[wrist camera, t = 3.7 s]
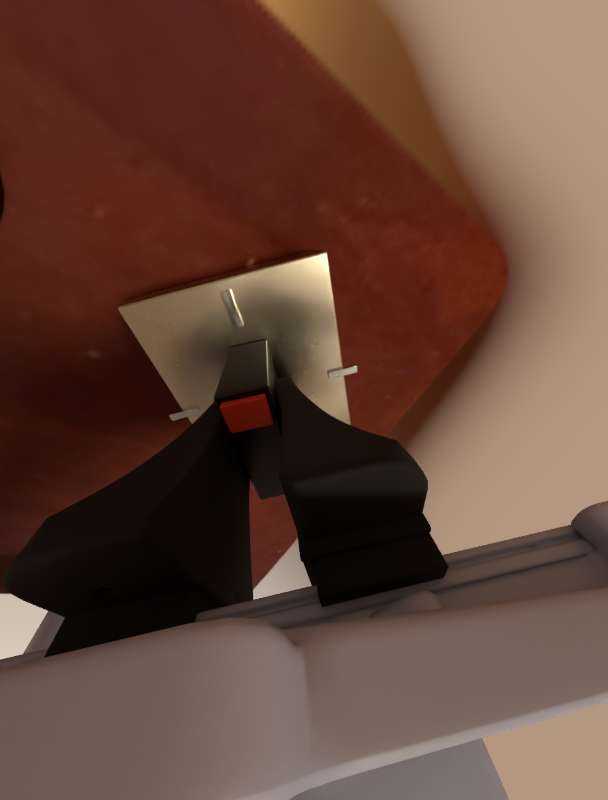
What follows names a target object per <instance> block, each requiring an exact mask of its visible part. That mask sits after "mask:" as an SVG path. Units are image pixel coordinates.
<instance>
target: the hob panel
mask: <svg viewBox="0 0 608 800" xmlns="http://www.w3.org/2000/svg"><path fill="white" fill-rule="evenodd" d="M117 309H118V311H119V312H120V314H121V315H122V317H123V319H124V320H125V322H126V323H127V325H128V326H129V328H130V329H131V331H132V332H133V334H134V336H135V337H136V339H137V340H138V342H139V343H140V345H141V346H142V348H143V350H144V351H145V353H146V354H147V356H148V357H149V359H150V360H151V362H152V363H153V365H154V367H155V368H156V370H157V371H158V373H159V374H160V376H161V377H162V379H163V380H164V382H165V384H166V385H167V387H168V388H169V390H170V391H171V393H172V394H173V396H174V398H175V399H176V401H177V402H178V404H179V405H180V407H181V408H182V410H181V411H177V412H173V413H170V414H169V417H170V418H171V419H172V421H174V420H178V419H182V418H185V417H187V418H188V419H189V421H190V422H191V424H193V423H194V422H195V421H196V420H197V419H198V418H199V417H200V416H201V415H202V414H203V413H204V412H205V411H206V410H207V409H208V408H209V407H210V406H211V404H212V403H213V402H214V395H215V392H216V389H217V386H218V383H219V380H220V376H221V373H222V370H223V367H224V364H225V361H226V358H227V355H228V352H229V349H230V347H234V346H239V345H244V344H248V343H253V342H258V341H262V340H267V342H268V345H269V349H270V353H271V357H272V361H273V364H274V368H275V372H276V376H277V378H281V377H286V376H289V377H291V378H292V380H293V382H294V383H295V385H296V386H297V387H298V388H299V389H300V390H301V391H302V392H303V394H304V395H305V396H306V397H308V398H309V399H310V400H311V401H312V402H313V403H314V404H316V405H317V406H318V407H319V408H321V409H322V410H324V411H325V412H327V413H328V414H330V415H331V416H333V417H335V418H336V419H338V420H340V421H342V422H344V423H346V424H349V425H351V420H350V413H349V405H348V398H347V391H346V383H345V376H344V375H348V374H352V373H356V372H357V365H356V364H355V365H351V366H347V367H344V368H343V361H342V354H341V347H340V340H339V332H338V325H337V318H336V310H335V303H334V296H333V288H332V281H331V274H330V266H329V259H328V253H327V251H319V250H309V251H305V252H302V253H298V254H294V255H290V256H287V257H283V258H279V259H275V260H272V261H268V262H264V263H260V264H257V265H253V266H249V267H245V268H242V269H238V270H234V271H230V272H227V273H223V274H219V275H215V276H211V277H208V278H204V279H200V280H196V281H193V282H189V283H185V284H181V285H178V286H174V287H170V288H166V289H163V290H159V291H155V292H151V293H148V294H146V295H144V296H141V297H139V298H136V299H134V300H132V301H129V302H127V303H124V304H122V305H120V306H118V307H117Z"/></svg>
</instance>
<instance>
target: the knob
mask: <svg viewBox="0 0 608 800" xmlns="http://www.w3.org/2000/svg"><path fill="white" fill-rule="evenodd" d="M276 378H277V376H276V372H275V368H274V364H273V361H272V357H271V353H270V349H269V345H268V342H267V340H262V341H258V342H253V343H248V344H244V345H239V346H234V347H230V349H229V352H228V355H227V358H226V361H225V364H224V367H223V370H222V373H221V376H220V380H219V383H218V386H217V389H216V392H215V395H214V401H215V403H216V405H217V407H218V409H219V412H220V414H221V416H222V418H223V420H224V422H225V424H226V427H227V429H228V431H229V433H230V435H231V437H232V440H233V442H234V444H235V446H236V448H237V450H238V452H239V455H240V457H241V459H242V461H243V463H244V465H245V467H246V470H247V472H248V474H249V476H250V478H251V480H252V483H253V485H254V487H255V489H256V491H257V493H258V495H259V498H260V499H261V500H263V499H267V498H272V497H276V496H280V495H285V494H284V491H283V488H282V485H281V482H280V479H279V471H280V461H281V446H282V420H281V409H280V404H279V400H278V397H277V393H276V389H275V384H276Z"/></svg>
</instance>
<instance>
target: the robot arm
mask: <svg viewBox="0 0 608 800" xmlns="http://www.w3.org/2000/svg"><path fill="white" fill-rule="evenodd" d="M275 389H276V393H277V397H278V400H279V404H280V409H281V420H282V446H281V461H280V471H279V479H280V482H281V485H282V488H283V491H284V494H285V497H286V500H287V502H288V505H289V508H290V511H291V514H292V517H293V520H294V523H295V526H296V529H297V534H298V542H299V551H300V558H301V561H302V562H303V563H304V566H305V568H306V571H307V574H308V576H309V579H310V582H311V584H312V586H310V587H306V588H301V589H297V590H293V591H289V592H285V593H280V594H276V595H272V596H268V597H263V598H259V599H255V600H253V587H252V572H251V552H250V523H249V486H250V476H249V474H248V472H247V470H246V467H245V465H244V463H243V461H242V459H241V457H240V455H239V452H238V450H237V448H236V446H235V444H234V442H233V440H232V437H231V435H230V433H229V431H228V429H227V427H226V424H225V422H224V420H223V418H222V416H221V414H220V412H219V409H218V407H217V405H216V403H215V401H214V402H213V403H212V404H211V406H210V407H209V408H208V409H207V410H206V411H205V412H204V413H203V414H202V415H201V416H200V417H199V418H198V419H197V420H196V421H195V422H194V423H193V424H192V425H191V426H190V427H189V428H188V429H187V430H186V431H185V432H183V433H182V434H181V435H180V436H179V437H178V438H177V439H175V440H174V441H173V442H172V443H170V444H169V445H168V446H167V447H165V448H164V449H163V450H161V451H160V452H159V453H157V454H156V455H154V456H153V457H152V458H150V459H149V460H147V461H146V462H144V463H143V464H142V465H140V466H139V467H137V468H136V469H134V470H133V471H131V472H129V473H128V474H126V475H125V476H123V477H122V478H120V479H118V480H117V481H115V482H113V483H111V484H110V485H108V486H106V487H105V488H103V489H101V490H99V491H98V492H96V493H94V494H92V495H90V496H88V497H87V498H85V499H83V500H81V501H79V502H77V503H75V504H73V505H71V506H70V507H68V508H66V509H64V510H62V511H60V512H58V513H56V514H54V515H52V516H50V517H48V518H47V519H46V520H45V521H44V522H43V524H42V525H41V526H40V528H39V529H38V530H37V532H36V533H35V534H34V535H33V537H32V538H31V539H30V540H29V542H28V543H27V544H26V545H25V547H24V548H23V549H22V551H21V552H20V553H19V554H18V556H17V557H16V558H15V559H14V561H13V562H12V563H11V564H10V566H9V567H8V568H7V570H6V571H5V573H4V574H3V579H4V584H5V587H6V588H7V589H8V590H9V592H10V593H11V594H12V595H14V596H16V597H18V598H20V599H22V600H23V601H26V602H29V603H31V604H33V605H36V606H38V607H41V608H43V609H46V610H48V613H47V614H46V616H45V618H44V619H43V621H42V623H41V624H40V626H39V628H38V629H37V631H36V633H35V635H34V636H33V638H32V640H31V641H30V643H29V645H28V646H27V648H26V650H25V651H24V653H23V655H18V656H14V657H10V658H5V659H1V660H0V800H509V798H508V796H507V794H506V791H505V789H504V787H503V785H502V782H501V780H500V778H499V776H498V773H497V771H496V769H495V766H494V764H493V762H492V760H491V757H490V755H489V753H488V751H487V748H486V746H485V744H484V742H483V740H482V738H484V737H487V736H490V735H494V734H497V733H501V732H505V731H508V730H512V729H515V728H518V727H522V726H525V725H529V724H533V723H536V722H540V721H543V720H546V719H550V718H554V717H557V716H561V715H564V714H568V713H571V712H575V711H578V710H582V709H585V708H589V707H592V706H596V705H599V704H603V703H606V702H608V501H606V502H602V503H597V504H594V505H592V506H589V507H587V508H585V509H583V510H582V511H581V512H580V513H578V514H577V516H576V517H575V518H574V519H573V520H572V522H571V525H568V526H564V527H560V528H555V529H551V530H547V531H543V532H538V533H534V534H530V535H526V536H521V537H518V538H513V539H509V540H505V541H501V542H496V543H492V544H488V545H483V546H479V547H475V548H471V549H466V550H463V551H458V552H454V553H450V554H445V555H442V554H441V552H440V551H439V549H438V547H437V545H436V544H435V542H434V540H433V538H432V537H431V535H430V533H429V532H430V531H431V527H430V525H429V523H428V521H427V519H426V518H425V516H424V514H423V513H422V512H423V508H424V503H425V499H426V495H427V490H428V480H427V478H426V476H425V475H424V473H423V471H422V470H421V468H420V467H419V466H418V464H417V463H416V462H415V460H414V459H413V458H412V457H411V456H410V454H409V453H408V452H407V451H406V450H405V449H404V448H403V447H402V446H401V445H400V443H399V442H398V441H396V440H393V439H390V438H386V437H383V436H379V435H376V434H372V433H369V432H366V431H364V430H361V429H358V428H356V427H353V426H351V425H349V424H346V423H344V422H342V421H340V420H338V419H336V418H335V417H333V416H331V415H330V414H328V413H327V412H325V411H324V410H322V409H321V408H319V407H318V406H317V405H316V404H314V403H313V402H312V401H311V400H310V399H309V398H308V397H306V396H305V395H304V394H303V392H302V391H301V390H300V389H299V388H298V387H297V386H296V385H295V383H294V382H293V380H292V378H291V377H289V376H286V377H281V378H276V384H275ZM366 618H367V619H366Z"/></svg>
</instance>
